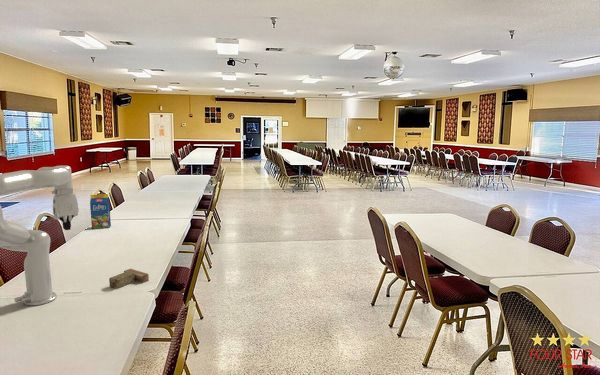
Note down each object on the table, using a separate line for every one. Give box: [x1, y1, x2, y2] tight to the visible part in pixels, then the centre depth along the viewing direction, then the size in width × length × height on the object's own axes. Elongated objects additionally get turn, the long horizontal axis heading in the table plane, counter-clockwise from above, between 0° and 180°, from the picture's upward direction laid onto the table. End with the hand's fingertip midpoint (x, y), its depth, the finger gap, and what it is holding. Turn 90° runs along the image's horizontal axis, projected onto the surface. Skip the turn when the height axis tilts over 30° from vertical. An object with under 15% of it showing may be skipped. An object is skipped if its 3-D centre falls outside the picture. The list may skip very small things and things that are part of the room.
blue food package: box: [89, 193, 112, 229], centre depth 312 cm, size 6×12×25 cm, turn 104°
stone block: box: [108, 271, 135, 289], centre depth 204 cm, size 6×12×5 cm, turn 153°
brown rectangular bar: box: [123, 268, 150, 284], centre depth 211 cm, size 4×14×4 cm, turn 57°
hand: (67, 229), depth 201 cm, fingers closed
